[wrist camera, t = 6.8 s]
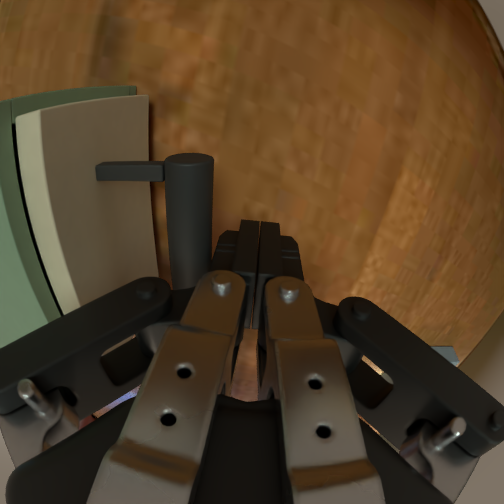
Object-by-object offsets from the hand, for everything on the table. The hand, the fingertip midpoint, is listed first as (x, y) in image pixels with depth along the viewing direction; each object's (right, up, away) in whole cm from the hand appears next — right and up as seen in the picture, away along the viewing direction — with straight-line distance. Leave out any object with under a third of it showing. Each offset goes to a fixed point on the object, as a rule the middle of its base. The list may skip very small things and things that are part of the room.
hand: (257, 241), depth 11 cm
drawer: (-10, +3, +3) cm, 11 cm away
